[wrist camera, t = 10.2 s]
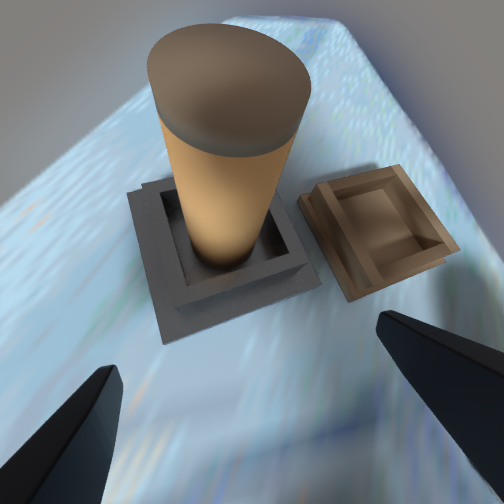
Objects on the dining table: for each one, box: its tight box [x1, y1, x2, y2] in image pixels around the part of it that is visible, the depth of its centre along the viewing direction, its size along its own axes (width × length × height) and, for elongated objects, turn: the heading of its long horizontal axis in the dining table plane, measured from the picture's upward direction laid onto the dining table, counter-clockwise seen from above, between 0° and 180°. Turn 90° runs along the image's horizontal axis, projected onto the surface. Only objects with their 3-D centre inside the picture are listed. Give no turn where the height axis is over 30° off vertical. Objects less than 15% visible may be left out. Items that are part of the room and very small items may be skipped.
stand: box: [297, 164, 461, 302], centre depth 20 cm, size 10×10×3 cm
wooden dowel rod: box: [147, 24, 311, 269], centre depth 13 cm, size 5×5×12 cm
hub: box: [127, 178, 322, 345], centre depth 17 cm, size 12×12×4 cm
